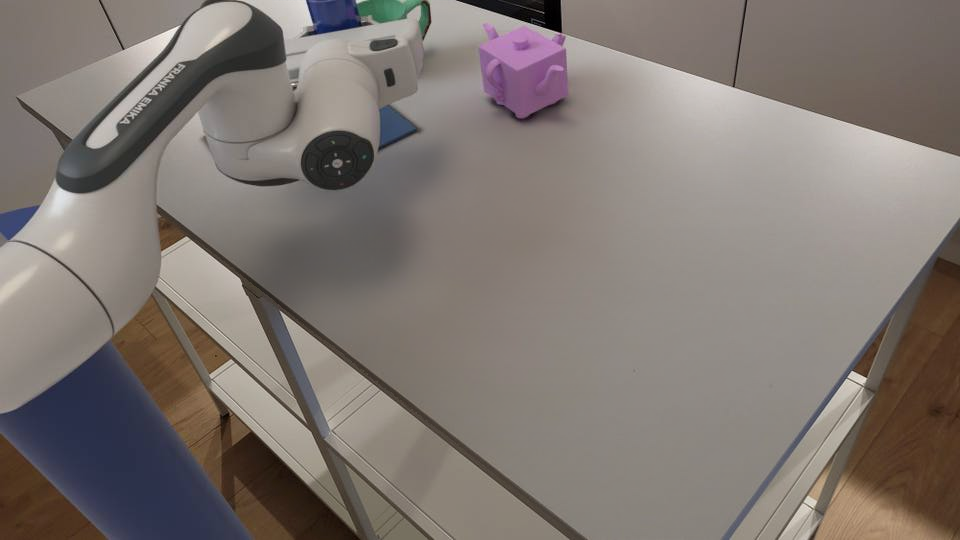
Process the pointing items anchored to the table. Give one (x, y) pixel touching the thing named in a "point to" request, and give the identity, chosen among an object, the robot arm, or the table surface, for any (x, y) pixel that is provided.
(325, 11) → the blue cup
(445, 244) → the table surface
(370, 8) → the mug
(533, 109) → the teapot
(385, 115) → the blue mat
